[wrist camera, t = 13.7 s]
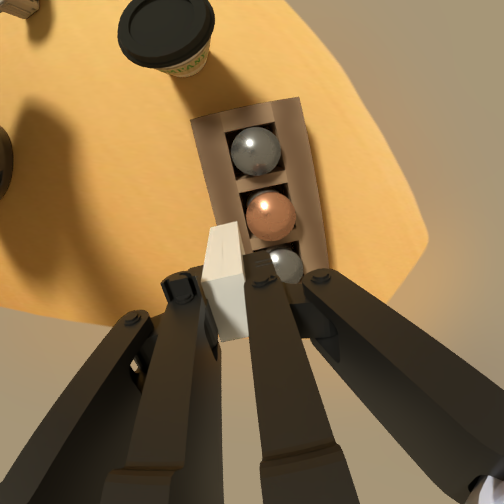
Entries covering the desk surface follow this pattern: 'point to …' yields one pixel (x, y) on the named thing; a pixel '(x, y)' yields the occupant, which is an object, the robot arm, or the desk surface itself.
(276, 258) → the grey plunger rear
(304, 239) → the wooden jar holder
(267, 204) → the terracotta plunger
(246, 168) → the ball
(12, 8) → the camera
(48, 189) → the desk surface
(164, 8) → the coffee cup
